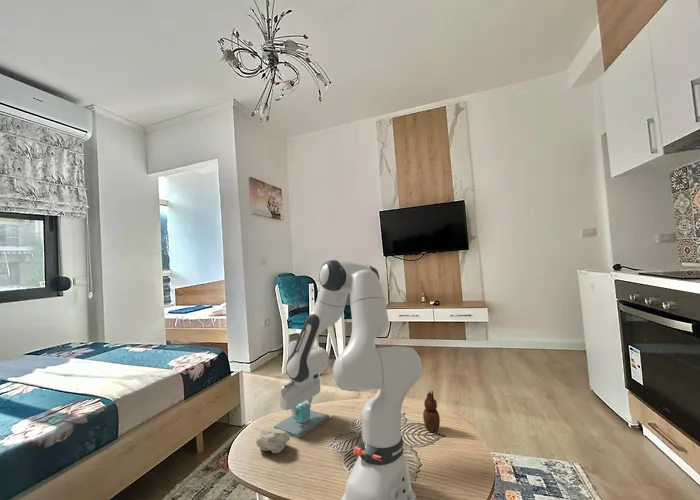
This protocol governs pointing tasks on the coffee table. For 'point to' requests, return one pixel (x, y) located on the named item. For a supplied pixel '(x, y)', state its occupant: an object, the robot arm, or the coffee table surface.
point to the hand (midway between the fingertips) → (301, 412)
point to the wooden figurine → (431, 414)
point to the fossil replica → (272, 440)
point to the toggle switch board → (302, 424)
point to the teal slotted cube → (302, 412)
